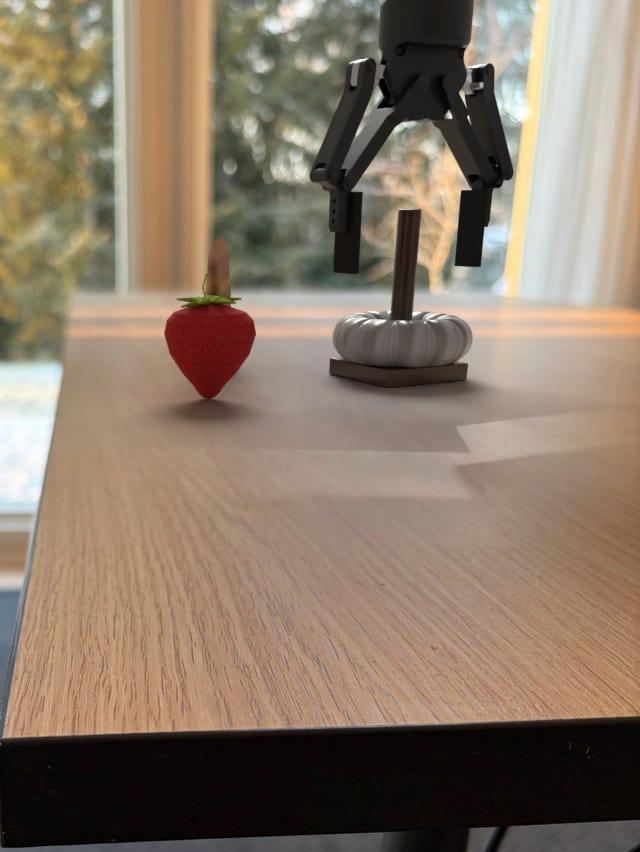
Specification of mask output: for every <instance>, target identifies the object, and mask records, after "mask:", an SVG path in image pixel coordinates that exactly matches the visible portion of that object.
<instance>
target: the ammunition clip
mask: <svg viewBox="0 0 640 852" xmlns="http://www.w3.org/2000/svg"><path fill="white" fill-rule="evenodd" d="M207 259H208V260H207V272H206V273H208V274H207V277H206V283H205V284H206V285H205V288H204V292H205V296H206V295H212V296H219V297H232V282H231V277H230V275H231V274H230V254H229V247H228V242H227V239H226V237H224V236H223V237H221V238H217V239H215V240H213V241H212V243H211V246H210V249H209V252H208V258H207ZM224 305H228V306H230V307H232V304H224Z"/></svg>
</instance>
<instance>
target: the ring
mask: <svg viewBox="0 0 640 852" xmlns="http://www.w3.org/2000/svg"><path fill="white" fill-rule="evenodd" d="M390 312H391V310H374V311H360V312H356V313H351V314H347V315H345V316H343V317H342V318H341V319H339V320H338V321H337V323H336V324H335V326H334V328H333V330H332V335H331V338H332V345H333V347H334V349H335V351H336V352H337V354H338V355H339V357H342V358H344V359H345V360H347V361H350V362H355V363H359V364H364V365H370V366H382V367H416V368H419V367H432V366H442V365H447V364H450V363H453V362H455V361H458V362H459V361H460V360H461V359H463V358H464V357H466V356H467V354H468V353H469V351H470V350H471V348H472V345H473V340H474V336H473V331H472V328H471V327H470V325H469V323H468V322H466V321H465V320H464V319H462V318H460V317H458V316H457V315H454V314H449V313H444V312H437V311H436V312H435V311H421V310H413V317H412V320H390Z"/></svg>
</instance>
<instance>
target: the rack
mask: <svg viewBox="0 0 640 852" xmlns="http://www.w3.org/2000/svg"><path fill="white" fill-rule="evenodd" d="M422 211H423V209H421V208H399V209H398V210H397V223H396V234H395V235H396V236H395V250H394V263H393V274H392V275H393V276H392V288H391V299H390V311H391V312H390V320H412V317H413V311H414V306H415V305H414V304H415V293H416V282H417V268H418V256H419V245H420V235H421V234H420V233H421V221H422ZM328 369H329V371H328V374H329V375H333V376H337V377H343V378H346V379H350V380H354V381H358V382H362V383H367V384H372V385H375V386H378V387H379V386H380V387H382V388H399V387H408V386H409V387H410V386H418V385H429V384H439V383H447V382H448V383H449V382H459V381H467V378H468V370H469V363H468V362H463V361H459V360H458V361H455V362H453V363H450V364H447V365H442V366H432V367H419V368H416V367H382V366H370V365H364V364H359V363H355V362H350V361H347V360H345V359H344V358H342V357H341V356H334V357H333V356H332V357H329V368H328Z"/></svg>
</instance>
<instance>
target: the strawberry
mask: <svg viewBox="0 0 640 852" xmlns="http://www.w3.org/2000/svg"><path fill="white" fill-rule="evenodd" d="M207 274H208V273H207V272H206V273H205V275H204V278H203V284H202V286H201V287H202V293H203V296H202V297H201V296H191V297H190V296H189V297H177V298H176V301H179V302H186V303H185V304H182V305H180V308H181V309H178V310H174V311H173V313H172V314H170V315H169V317H168V318H167V319H166V322H165V328H164V332H163V335H164V338H165V342H166V346H167V349H168V353H169V355H170V358H172V360H173V361H174V363H175V364H176V366H177V367H178V369H179V371H180V372H181V373H182V375H183V376H184V377H185V379H187V381H189V383H190V384H191V385H192V386H193V388H194V389H195V390H196V392H197V393H198V394H199V395H200V396H201V397H202V398H204V399H208V400H209V399H214V398H216V397H217V396H218V395H219V394H220V393H221V391H222V390H223V388H224V387H225V386H226V385H227V384H228V383H229V382H230V381H231V379H232V378H233V377H234V376H236V374H237V372H238V371H239V370H240V368H241V367H242V366H243V364H244V363H245V362H246V360H247V359H248V357H249V356H250V354H251V351H252V348H253V345H254V342H255V338H256V336H257V332H256V331H257V330H256V325H255V320H254V319H253V318H252V317H251V316H250V315H249V313H248V312H247V311H245V310H241V309H239V308H236V307H234V306H231V307H230V306H228V305H224V304H231V305H236V304H237V302H238V301H242V300H243V299H242V297H233V296H231V297H219V296H212V295H206V296H205V288H204V287H205V284H206V282H207ZM236 301H237V302H236Z"/></svg>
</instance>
